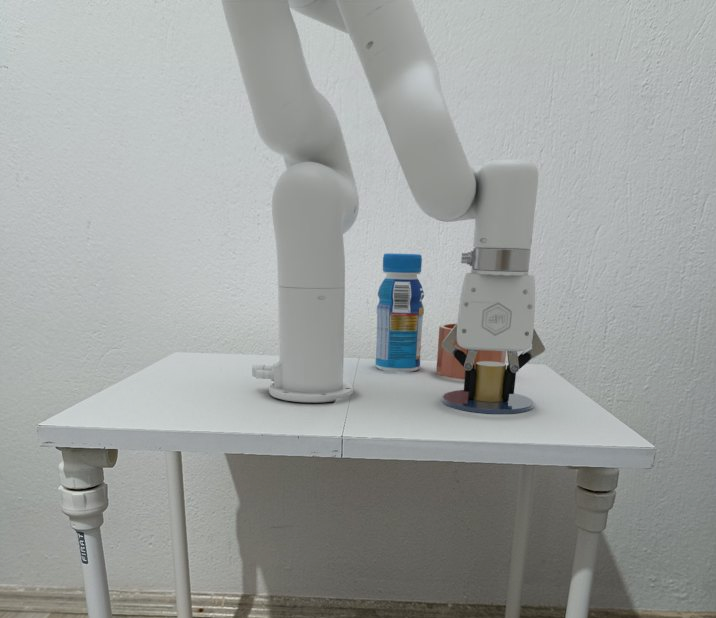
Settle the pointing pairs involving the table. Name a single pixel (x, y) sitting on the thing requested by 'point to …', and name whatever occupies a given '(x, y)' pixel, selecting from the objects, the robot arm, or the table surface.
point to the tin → (451, 365)
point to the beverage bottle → (400, 314)
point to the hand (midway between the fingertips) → (488, 396)
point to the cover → (488, 393)
